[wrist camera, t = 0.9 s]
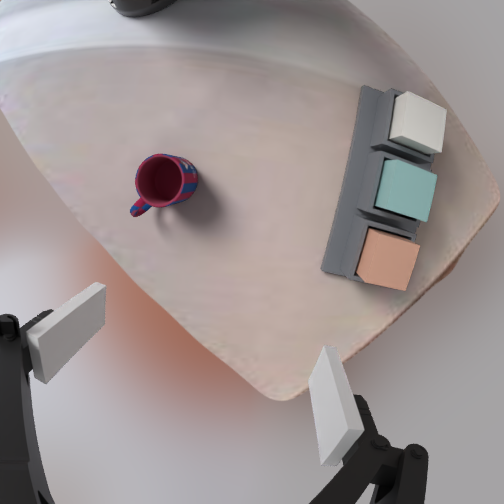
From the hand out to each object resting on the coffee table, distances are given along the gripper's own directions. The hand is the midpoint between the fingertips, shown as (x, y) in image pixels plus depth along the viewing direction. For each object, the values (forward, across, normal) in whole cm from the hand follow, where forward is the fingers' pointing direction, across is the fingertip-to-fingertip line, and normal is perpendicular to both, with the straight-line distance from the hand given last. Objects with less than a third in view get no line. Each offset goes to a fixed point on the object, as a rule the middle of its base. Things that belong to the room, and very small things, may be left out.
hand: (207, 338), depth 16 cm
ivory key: (+23, +17, +22) cm, 36 cm away
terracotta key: (+23, +18, +4) cm, 30 cm away
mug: (+28, -13, +5) cm, 31 cm away
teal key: (+23, +18, +13) cm, 32 cm away
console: (+27, +18, +13) cm, 35 cm away
